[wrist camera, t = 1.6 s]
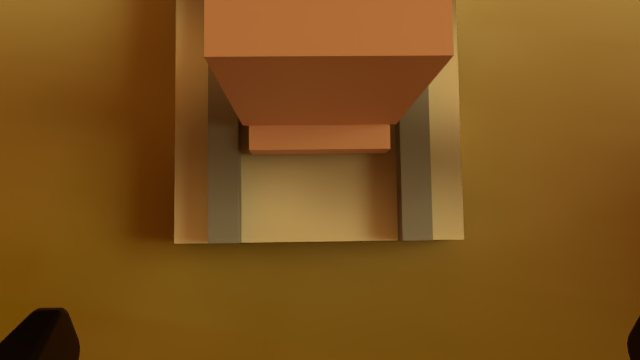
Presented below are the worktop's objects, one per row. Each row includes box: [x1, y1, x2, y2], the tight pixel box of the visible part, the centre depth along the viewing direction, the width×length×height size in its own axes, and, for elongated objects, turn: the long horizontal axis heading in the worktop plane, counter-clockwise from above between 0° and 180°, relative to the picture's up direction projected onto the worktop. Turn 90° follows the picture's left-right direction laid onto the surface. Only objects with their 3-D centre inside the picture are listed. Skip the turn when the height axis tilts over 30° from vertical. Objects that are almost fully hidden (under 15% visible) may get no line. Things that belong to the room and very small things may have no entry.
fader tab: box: [204, 0, 454, 155], centre depth 16 cm, size 4×5×9 cm
